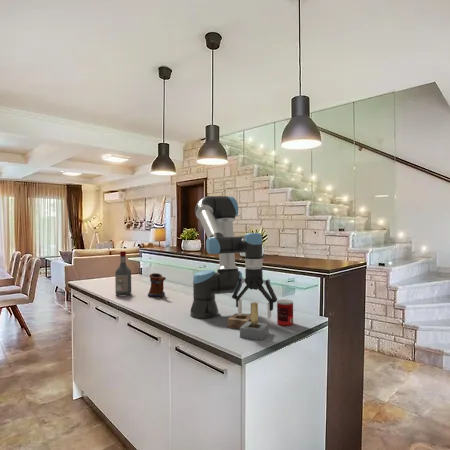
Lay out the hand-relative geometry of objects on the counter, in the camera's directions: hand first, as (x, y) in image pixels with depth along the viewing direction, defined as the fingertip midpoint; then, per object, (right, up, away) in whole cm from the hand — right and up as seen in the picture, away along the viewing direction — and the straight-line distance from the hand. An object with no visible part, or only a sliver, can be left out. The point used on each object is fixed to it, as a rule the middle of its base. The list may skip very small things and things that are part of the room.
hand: (254, 316), depth 143 cm
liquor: (-84, -9, +83) cm, 118 cm away
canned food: (+16, -8, +15) cm, 23 cm away
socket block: (0, -8, 0) cm, 8 cm away
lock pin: (0, -8, 0) cm, 8 cm away
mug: (-58, -8, +75) cm, 95 cm away
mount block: (-5, -8, +13) cm, 16 cm away
